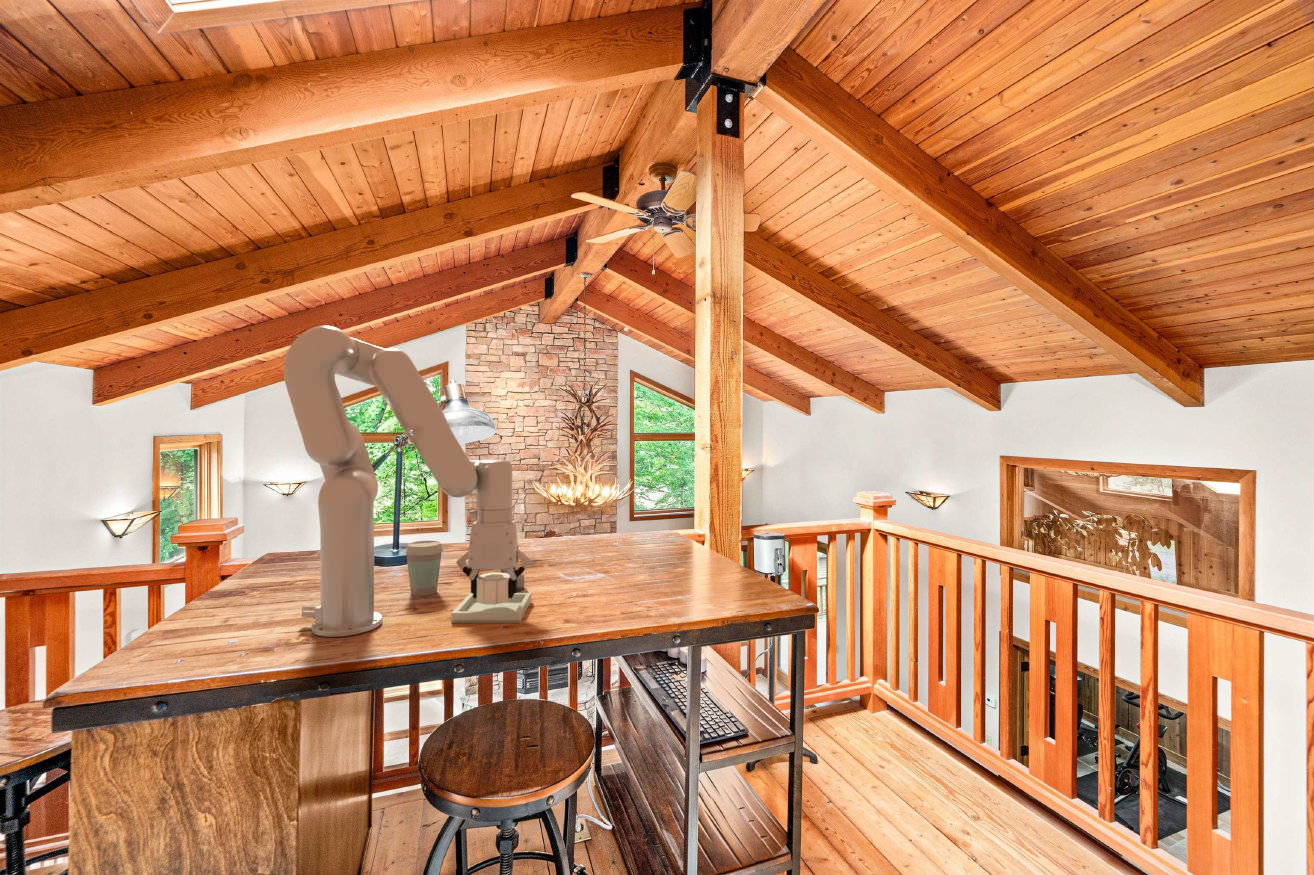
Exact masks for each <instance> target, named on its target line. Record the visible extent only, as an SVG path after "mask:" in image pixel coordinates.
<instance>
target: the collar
mask: <svg viewBox="0 0 1314 875" xmlns="http://www.w3.org/2000/svg"><path fill="white" fill-rule="evenodd" d="M509 580H510V575H509V574H507V573H501V572H487V573H483V574H482V573H481V574H480V575H479V574H478V577H477V598H476V601H477V602H478V603H481V604H484V605H496V604H501V603H505V602H508V601H509V600H510V599H511V598H508V582H509Z"/></svg>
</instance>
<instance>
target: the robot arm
mask: <svg viewBox="0 0 1314 875" xmlns="http://www.w3.org/2000/svg"><path fill="white" fill-rule="evenodd" d="M335 375H338V376H341V377H345V378H348V379H350V380H351V379H352V380H354V381H357V382H360V383H364V384H366V385H369V386H373V387H376V388H377V390H378V391H379V393H380V394H381V396H382V397H383V399H384V402H386V403H387V404H386V405H388V407H389V409H390V410H391V412H392V413H393V415H394V417H395V418H396V420H397V422H398V424H399V425H400V426H401V429H403V432H404V433H405V435H406V437H407V438H408V439H409V440H410V441H411V443H412V444H413V446H414V447H415V449H416V450H417V452H418V453H419V456H420V457H421V458H422V460H423V462H424V463H425V465H426V467H427V468H428V470H429V471H430V473H431V475H432V476H433V478H434V480H435V481H436V483H437V484H438V486H439V488H440V489H441V490H442V491H443V493H444V494H446V495H447V496H449V497H452V498H458V499H459V498H463V497H467V496H469V495H470V494H471V493H473V492H474V491H475V492H476V508H475V509H473V510H470V511H469V517H470V518H471V517H473V518H474V519H475V521H474V522H472V523H471V529H470V534H469V541H468V551H467V552H466V553H464V555H462V556H460V558H458V559H457V561H455V562H456V565H457V566H458V567H459V568H460V569H461V570H462V572H463V573H464V575H466V576H467V577H468V579H469V580H470V593H473V598H477V577H478V576H479V573H480V571H483V570H485V571H487V570H488V571H495V570H496V571H498V570H500V571H501V570H507V572H508V574H509V575H510V580H509V582H508V598H512V597H513V596H514V593H517V577H518V576H519V575H521V574H523V573H524V571H525V570H527V568H528V567H529V566H530V565H531V563H532V559H531V558H530V557H528V556H527V555H526V554H525V553H523V551H521V550H520V549H519V538H518V533H517V532H518V531H517V526H516V522H515V520H513V464H512V463H511V461H509V460H507V459H500V458H499V459H497V458H496V459H493V458H492V459H489V458H488V459H483V460H482V459H481V460H479V459H478V460H475V459H469V458H468V456H467V454H466V452H465V451H464V449H463V447H462V446H461V444H460V443H459V441H458V440H457V438H456V436H455V434H454V432H453V431H452V428H451V426H449V423H448V420H447V417H446V416H445V414H444V412H443V410H442V408H441V406H440V405H439V403H438V401H437V400H436V398H435V397H434V395H433V394H432V392H431V390H430V389H429V386H428V385H427V383H426V382H425V381H424V378H423V377H422V376H421V374H420V371H418V369H417V367H416V365H415V363H414V362H413V360H412V359H411V358H410V356H409V355H408V354H407V353H406V352H405V351H403V350H401V349H399V348H395V347H389V348H383V347H381V346H376V345H374V344H371V343H368V342H366V341H362V340H359V339H357V338H354V337H351V336H349V335H348V334H347V333H346V332H344V331H343V330H342V329H340V328H338V327H334V326H331V325H319V326H313V327H312V328H309V329H308V330H306V331H305V332H303V333H301V334H300V335H299V336H298V337H297V338H296V339H295V340H294V341H293V342H292V343H291V345H290V346H289V348H288V350H287V352H286V355H285V358H284V363H283V378H284V384H285V386H286V391H287V393H288V397H289V400H290V402H291V406H292V409H293V413H294V416H295V421H296V423H297V426H298V429H299V432H300V434H301V437H302V441H303V445H304V446H303V447H304V449H305V451H306V454H307V455H308V457H309V458H310V459H311V460H312V461H314V462H315V463H317V464H319V465H320V469H321V472H322V475H323V478H324V482H323V483H322V485H321V488H320V489H319V493H318V501H317V504H318V505H317V508H318V518H319V531H320V532H319V533H320V534H319V535H320V537H319V539H320V604H319V605H315V604H314V605H313V604H306V605H303V606H302V609H301V618H304V619H309V618H313V619H314V622H312V624H311V632H312V633H313V635H315V636H320V637H324V638H326V637H327V638H328V637H329V638H336V637H337V638H338V637H349V636H355V635H359V634H363V633H366V632H369V631H371V630H375V629H376V628H378V627H379V626H380V625H382V623H383V615H382V614H381V613H380V612H377V611H375V524H374V523H375V522H374V521H375V520H374V516H375V514H374V507H375V506H374V502H375V499H376V498H377V495H378V493H379V484H378V480H377V477H376V473H375V469H374V467H373V464H372V461H371V457H370V455H369V453H368V449H367V446H366V443H365V440H364V437H363V435H362V433H361V431H360V430H359V428H358V427H357V426H356V425H355V424H354V423H352V422H351V421H350V420H349V418H348V415H347V412H346V410H345V407H344V404H343V400H342V397H341V396H342V395H341V394H340V391H339V389H338V385H337V383H336V379H335V378H336V376H335ZM467 560H468V561H467ZM519 560H520V561H521V562H522V564H521V565H520V566H519V567H518V568H516V564H518V562H519Z"/></svg>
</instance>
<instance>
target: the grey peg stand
mask: <svg viewBox="0 0 1314 875" xmlns="http://www.w3.org/2000/svg"><path fill="white" fill-rule="evenodd" d="M500 573H507V574H508V572H507V570H500ZM522 590H523V591H524V590H525V575H524V574H523V573H522V574H521V575H519V576H518V577H517V593H522Z"/></svg>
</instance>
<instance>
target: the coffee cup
mask: <svg viewBox="0 0 1314 875" xmlns="http://www.w3.org/2000/svg"><path fill="white" fill-rule="evenodd" d="M441 543H442V542H441V541H439V540H428V539H427V540H417V541H411V542H409V543H408V544H406V545H407V546H406V548H405V551H404V553H405V555H406V561H407V569H408V570H407V571H408V579H409V580H408V581H409V588H410V594H411V596H414V597H426V596H427V595H428V596H432V595H435V594H436V593H437V591H438V585H439V577H440V568H441V561H442V553H443V551H444V550H443V547H442V544H441Z"/></svg>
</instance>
